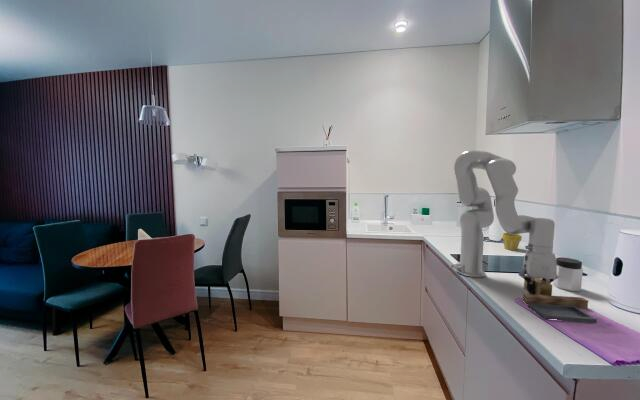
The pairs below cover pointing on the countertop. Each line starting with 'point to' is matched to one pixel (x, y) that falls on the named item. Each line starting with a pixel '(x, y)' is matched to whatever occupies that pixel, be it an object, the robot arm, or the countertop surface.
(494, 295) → the countertop surface
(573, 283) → the jar
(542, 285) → the bar
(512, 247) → the plant pot
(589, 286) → the countertop surface
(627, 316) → the countertop surface
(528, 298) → the door edge strip
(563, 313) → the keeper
